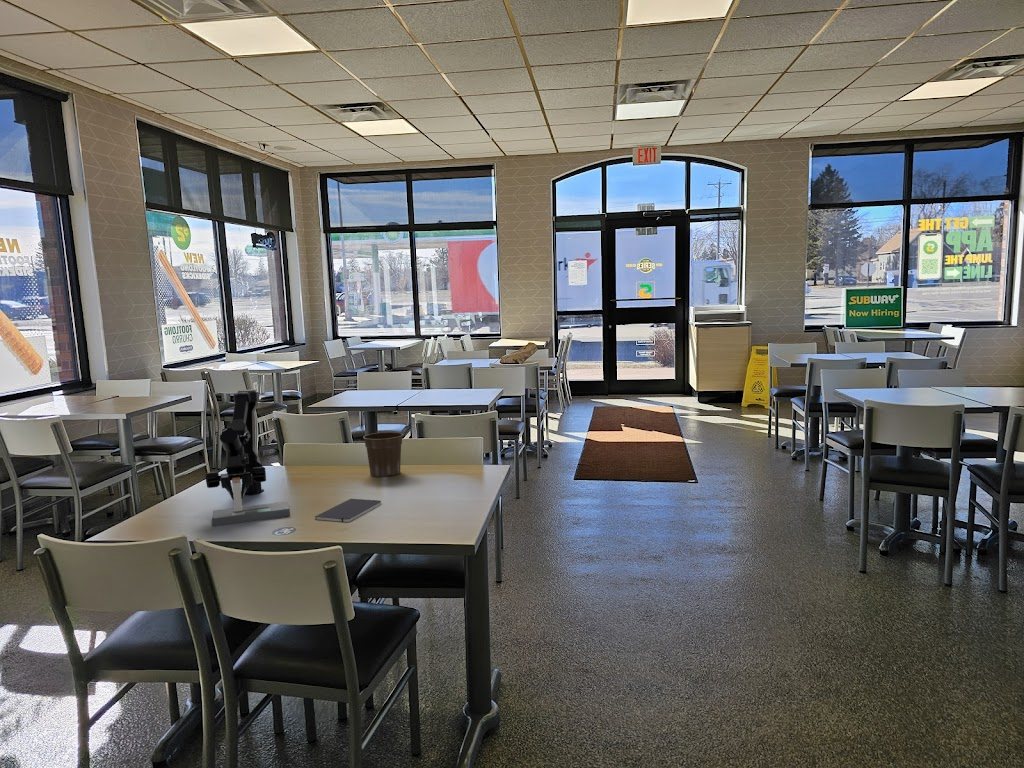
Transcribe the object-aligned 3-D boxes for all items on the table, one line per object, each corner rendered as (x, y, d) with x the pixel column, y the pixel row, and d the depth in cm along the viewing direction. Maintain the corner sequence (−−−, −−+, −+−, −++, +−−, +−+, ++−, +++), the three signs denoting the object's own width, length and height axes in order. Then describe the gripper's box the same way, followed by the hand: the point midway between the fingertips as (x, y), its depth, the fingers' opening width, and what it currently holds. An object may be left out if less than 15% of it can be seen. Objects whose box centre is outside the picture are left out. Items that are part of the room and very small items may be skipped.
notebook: (351, 502, 248) (315, 521, 228) (350, 498, 248) (315, 516, 228) (382, 505, 244) (348, 523, 224) (382, 500, 244) (348, 519, 224)
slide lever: (234, 511, 231) (232, 480, 229) (234, 509, 233) (232, 478, 232) (242, 510, 231) (239, 479, 230) (242, 508, 234) (239, 477, 233)
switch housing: (212, 525, 225) (211, 518, 225) (213, 517, 235) (213, 510, 234) (290, 515, 234) (289, 508, 233) (288, 507, 243) (288, 500, 243)
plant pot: (373, 469, 296) (370, 431, 295) (410, 468, 294) (408, 431, 292) (359, 478, 280) (357, 439, 279) (398, 478, 278) (396, 438, 276)
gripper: (203, 449, 230) (204, 489, 221) (263, 443, 237) (266, 482, 228) (206, 467, 239) (207, 507, 230) (264, 461, 245) (267, 499, 236)
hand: (237, 498), depth 231 cm, fingers closed on slide lever, 2 cm apart
